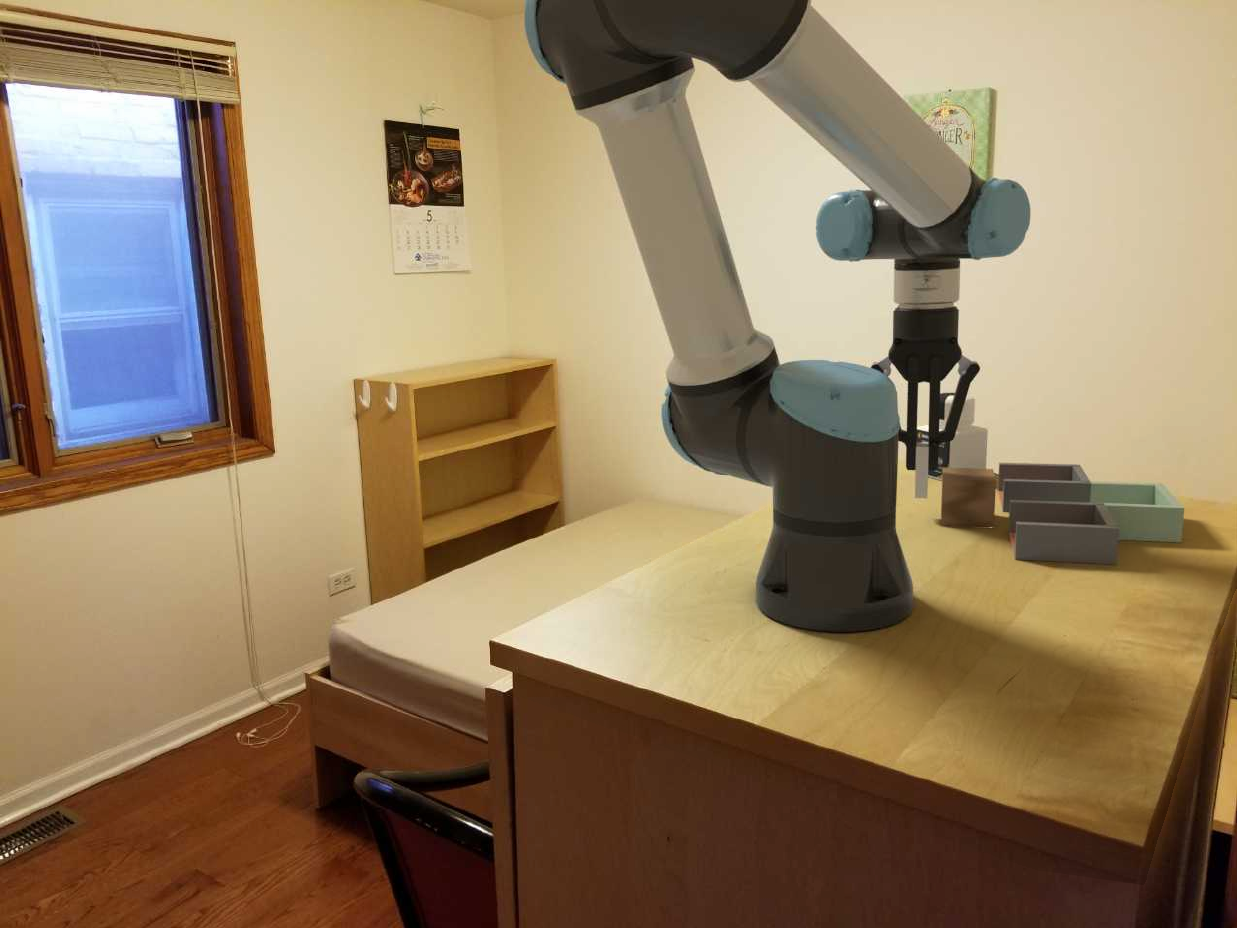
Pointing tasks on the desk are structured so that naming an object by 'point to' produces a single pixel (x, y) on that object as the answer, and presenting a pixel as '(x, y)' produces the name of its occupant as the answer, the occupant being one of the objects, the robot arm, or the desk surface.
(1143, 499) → the box
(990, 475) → the walnut block
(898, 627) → the desk surface
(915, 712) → the desk surface
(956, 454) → the medicine bottle
